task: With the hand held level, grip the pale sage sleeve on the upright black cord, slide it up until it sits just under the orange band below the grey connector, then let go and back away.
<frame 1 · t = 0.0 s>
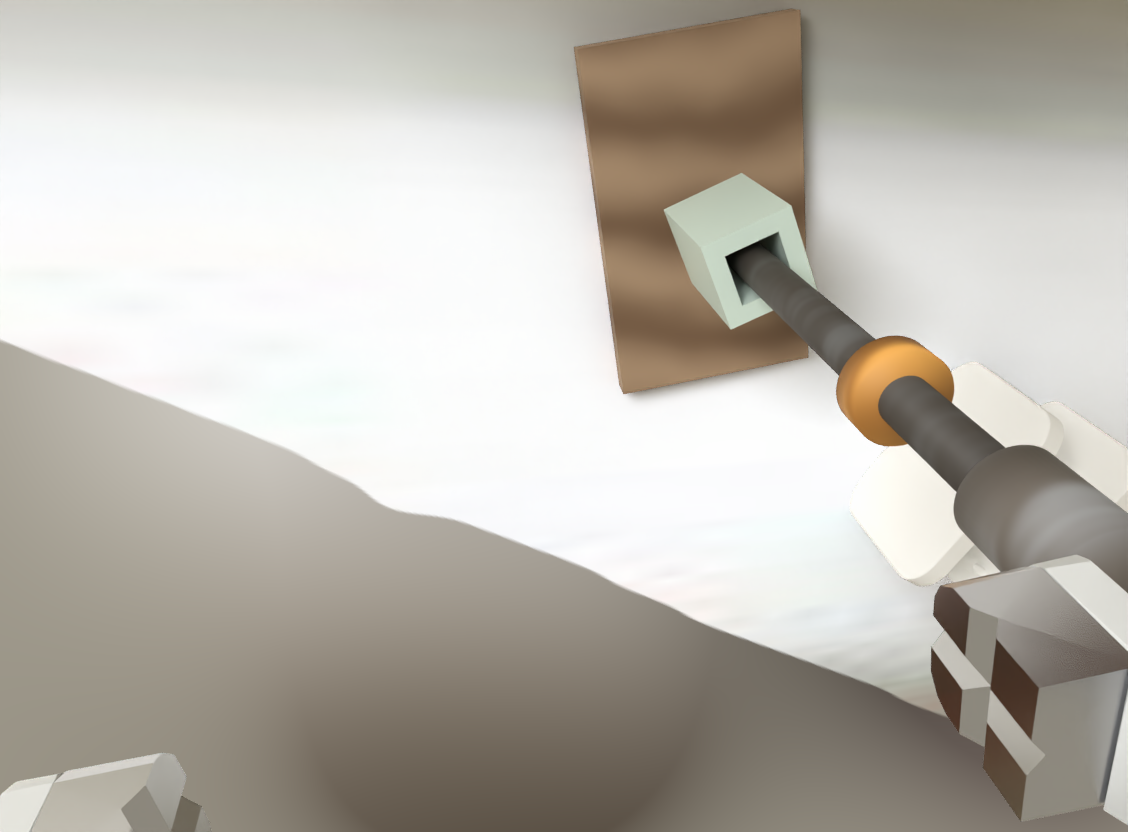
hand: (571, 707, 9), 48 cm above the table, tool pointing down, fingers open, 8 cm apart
sleeve: (736, 247, 50), point 8 cm above the table, slide at 0.0 cm
cable organizer: (946, 448, 68), on the table
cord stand: (697, 212, 57), on the table
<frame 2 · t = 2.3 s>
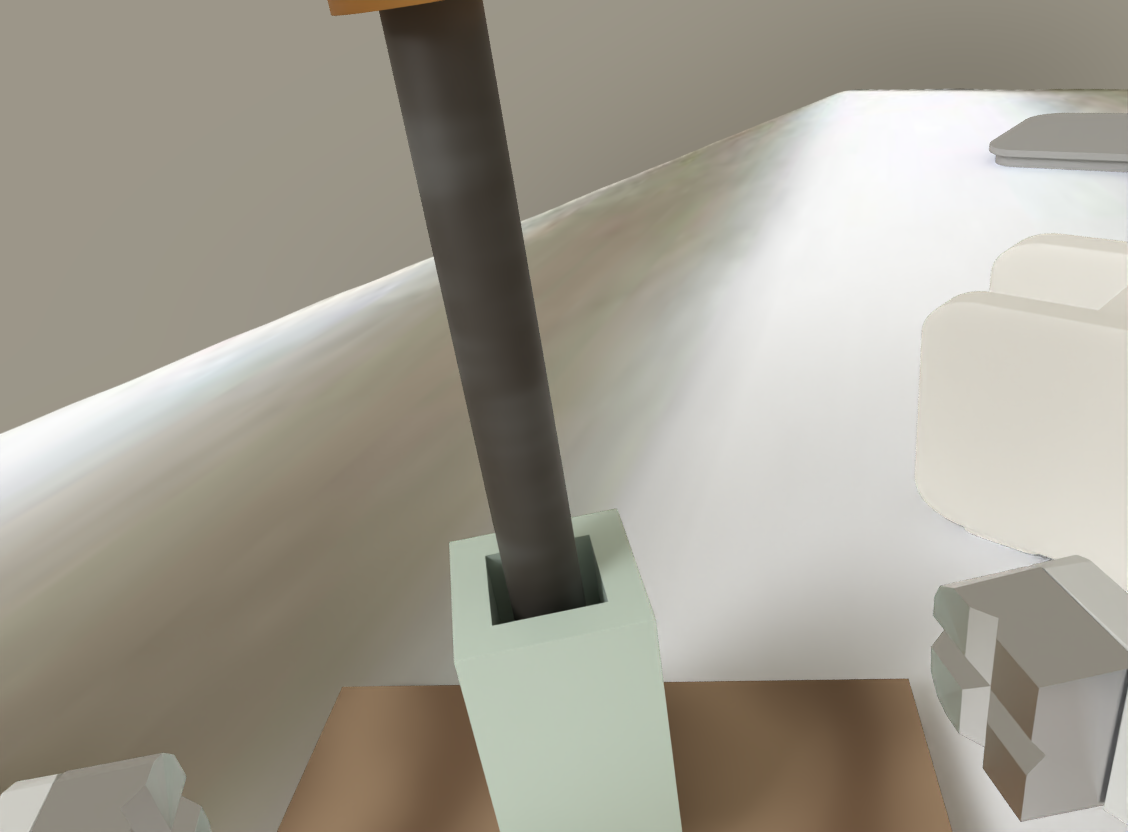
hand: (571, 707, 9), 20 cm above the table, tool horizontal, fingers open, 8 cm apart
sleeve: (564, 686, 26), point 8 cm above the table, slide at 0.0 cm
cable organizer: (1102, 519, 41), on the table
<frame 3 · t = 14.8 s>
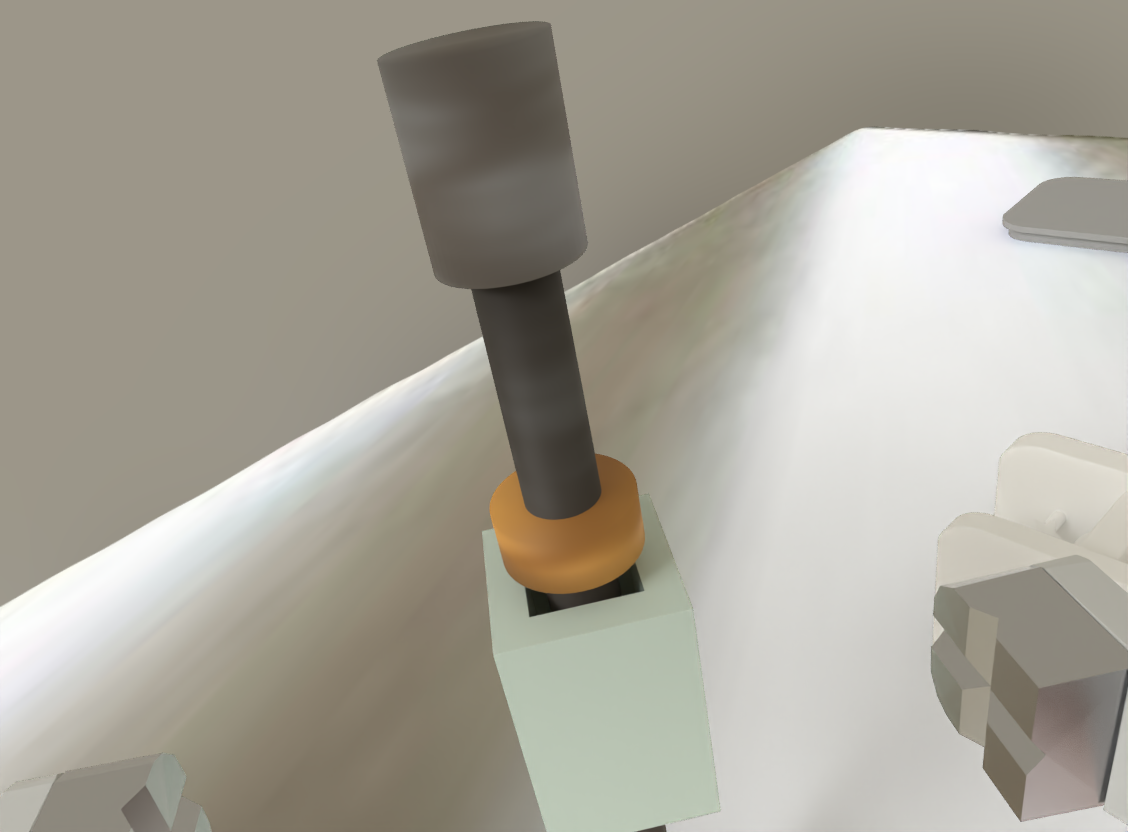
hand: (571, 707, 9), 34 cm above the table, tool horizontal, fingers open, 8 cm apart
sleeve: (601, 670, 26), point 21 cm above the table, slide at 13.4 cm
cable organizer: (1096, 684, 48), on the table
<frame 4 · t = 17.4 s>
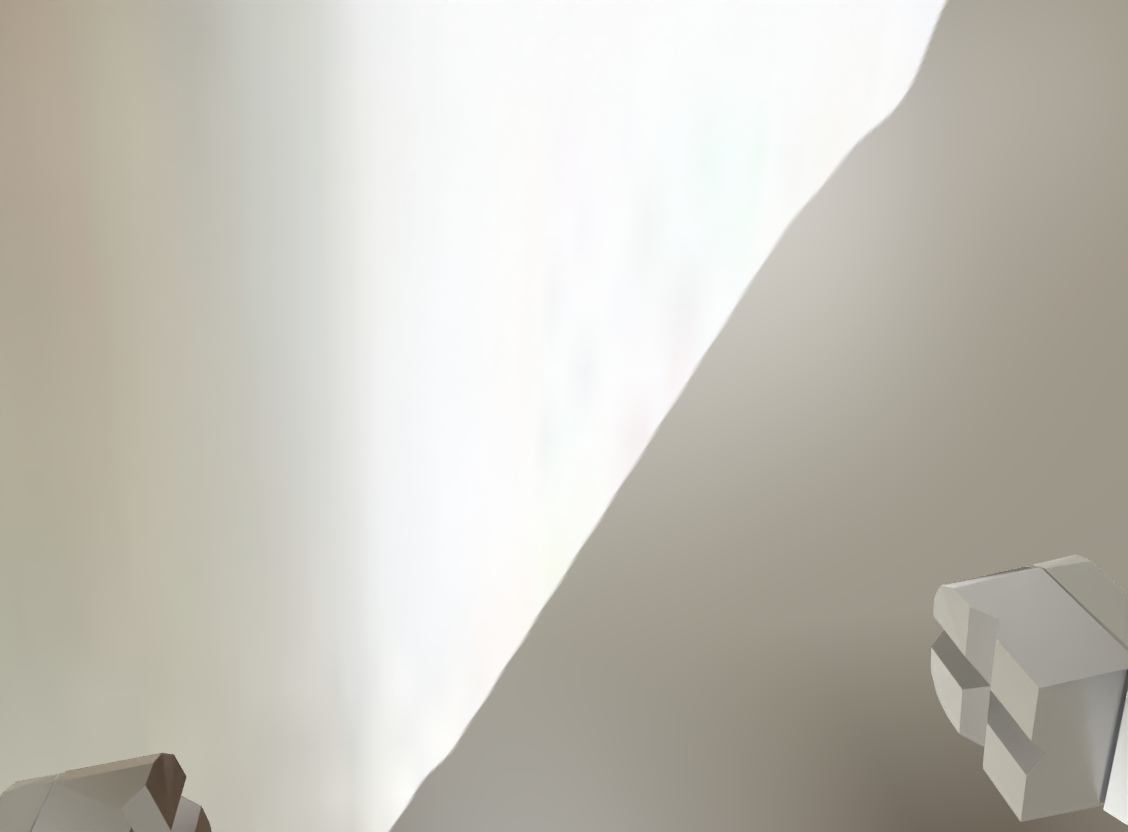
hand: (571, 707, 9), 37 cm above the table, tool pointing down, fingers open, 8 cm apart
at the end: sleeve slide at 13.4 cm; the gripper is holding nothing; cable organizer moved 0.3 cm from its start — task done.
